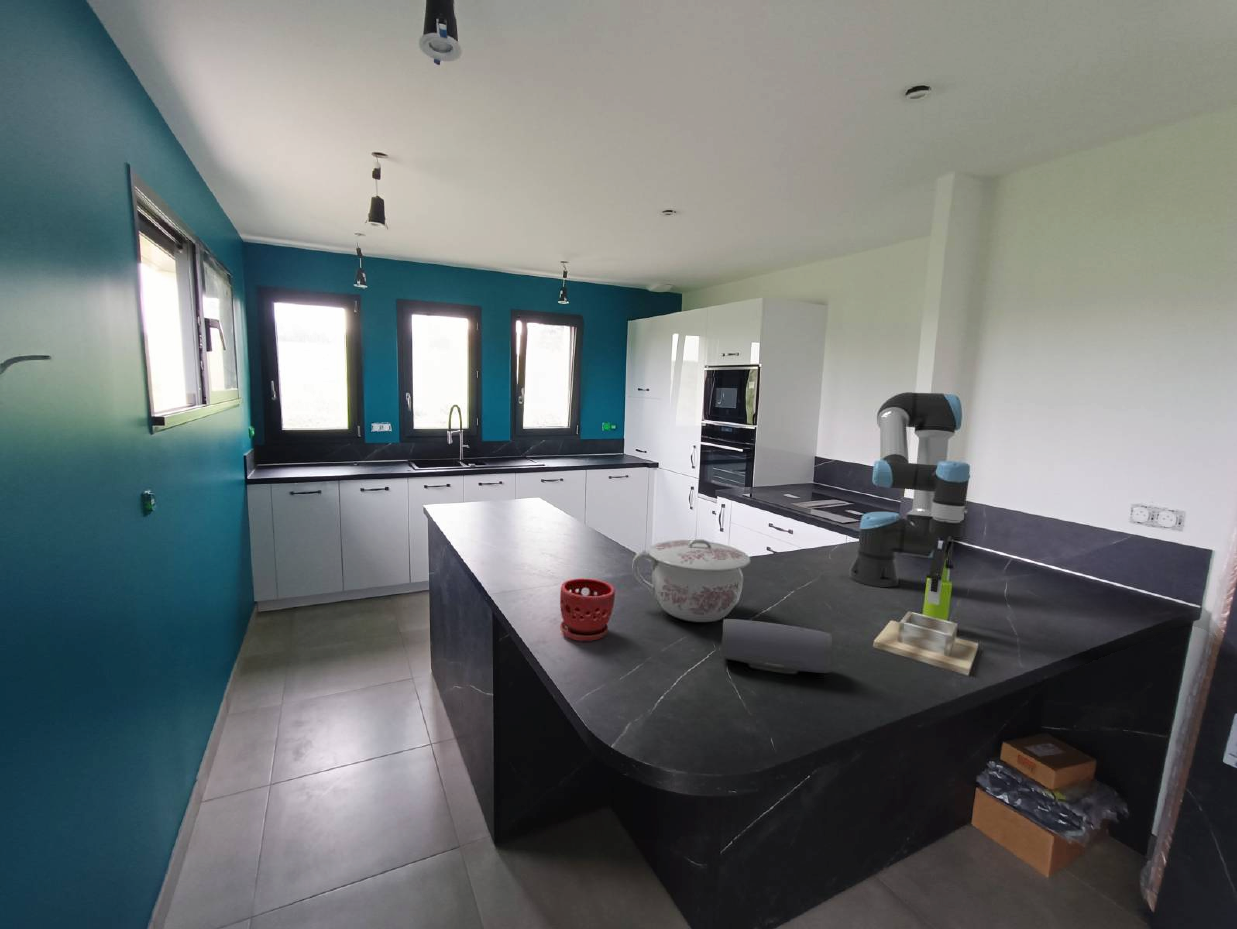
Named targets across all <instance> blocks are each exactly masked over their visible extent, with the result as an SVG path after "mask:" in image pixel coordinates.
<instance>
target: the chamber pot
mask: <svg viewBox="0 0 1237 929" xmlns="http://www.w3.org/2000/svg"><path fill="white" fill-rule="evenodd" d="M642 559H646V560H648V561H650V563H651V564H650V570H651V581H652V583H650V582H649V581H647V580H646V579H644V577H643V576H642V575H641V573H640V572H639V567H638V566H639V563H640V560H642ZM750 564H751V557H750V556H749V555H748V554H746V552H745V551H742V550H740V549H738V548H735V547H732V546H729V545H726V544H722V543H718V542H714V541H708V540H706V539H703V538H702V539H701V538H700V539H676V540H669V541H667V540H666V541H661V542H658V543H655V544H653V545H651V546H650V547H649V549H648V550H647V551H646V550H640V551H638V552H637V553H636V554H635V556H634V558H633V559H632V565H631V570H632V574H633V576H634V577H635V578H636V580H637V582H638V583H639V584H641V585H642V586H644V587H645V588H646V589H648V590H649V592H650V593H651V594H652V596H654V598H655V600H656V601H658V602H659V604H660V605H661V607H662V609H663V610H664V611H665V612H666V613H667V614H668V615H669V616H672V617H674V618H677V619H679V620H682V621H687V622H692V623H709V622H717V621H719V620H722V619H723V620H724V619H725V618H726V617H727V616H728V615H729V614H730V612H731V611H732V610H733V609H734V608H735V606H736V605H737V603H738V602H739V600H740V597H741V594H742V591H743V587H744V586H743V585H744V584H743V583H744V573H743V570H742V569H743V568H745V567H747V566H748V565H750Z"/></svg>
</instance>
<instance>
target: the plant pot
mask: <svg viewBox="0 0 1237 929" xmlns="http://www.w3.org/2000/svg"><path fill="white" fill-rule="evenodd" d="M583 589H588V591H589V592H588V594H587V595H584V594H583V593H582V591H583ZM577 590H578V591H577ZM615 592H616V589H615V588H614V586H613V585H612V584H610V583H608V582H605V581H603V580H599V579H594V578H571V579H569V580H565V581H564V582H563V583H562V584H561V586H560V592H559V594H560V595H559V597H560V598H559V602H560V603H559V604H560V606H559V607H560V608H559V609H560V613H561V618H562V621H561V622H560V624H559V627H560V630H561V633H563V634H564V635H565V636H566V637H568V638H569V639H572V640H576V641H581V642H590V641H595V640H599V639H601V638H603V637H605V635H606V634H607V633H608V632H609V627H608V622H609V621H610V618H611V616H612V612H613V609H614V605H615V604H614V603H615V597H616V596H615V595H616V593H615ZM595 593H596V594H595Z"/></svg>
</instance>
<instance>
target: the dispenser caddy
mask: <svg viewBox="0 0 1237 929" xmlns="http://www.w3.org/2000/svg"><path fill="white" fill-rule="evenodd" d="M958 625H959V624H958V622H953V621H950V620H949V621H948V620H947V621H945V620H941V619H937V618H933V617H929V616H925V615H923V613H922V614H921V613H917V612H913V611H907V612H906V614H905V615H904V616H903V617H902V619H901V620H900V621H895V620H890V621H889V622H888V623H887V624H886V625H885V627H884V628H883V629H882V631H880V633H879V634H877V637H875V639H874V640H873V644H872V647H873V648H874V649H875V648H876V649H878V650H882V651H885V652H889V653H891V654H895V655H898V656H902V657H905V658H908V659H912V660H915V661H919V662H922V663H926V664H928V665H930V666H931V665H932V666H935V667H938V668H942V669H945V670H948V671H951V672H956V673H958V674H962V675H965V676H969V675H970V672H971V669H972V667H973V663H974V661H975V657H976V655H977V652H978V648H979V643H977V642H974V641H971V640H967V639H962V638H958V637H957V632H958V631H957V630H958Z"/></svg>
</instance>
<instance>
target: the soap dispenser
mask: <svg viewBox="0 0 1237 929" xmlns="http://www.w3.org/2000/svg"><path fill="white" fill-rule="evenodd" d="M946 560H948V558H946V559H945V564H946ZM945 564H944V568H943V573H942V579H941V580H942V584H941V592H940V600H939V605H937V604H932V603H928V602H927V596H928V588H929V579H930V578H927V577H926V584H925V586H926V587H925V591H924V592H925V593H924V602H923V606H922V608H923V609H922V615H925V616H929V617H933V618H937V619H941V620H945V621H948V619H949V618H948V617H949V612H950V603H951V596H952V590H953V582H952V581H951V580H949V581H948V580H947V577H948V569H949V568H948V569H947V568H946V567H945ZM934 574H935V573H934Z"/></svg>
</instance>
